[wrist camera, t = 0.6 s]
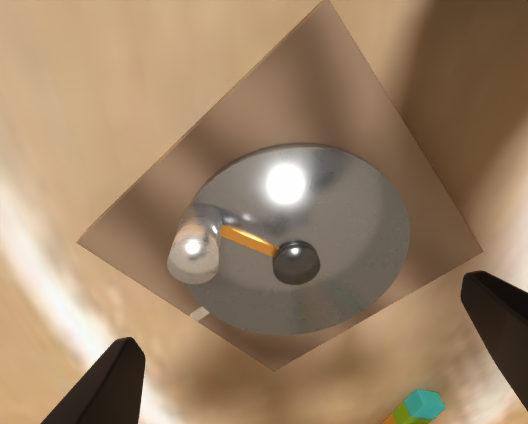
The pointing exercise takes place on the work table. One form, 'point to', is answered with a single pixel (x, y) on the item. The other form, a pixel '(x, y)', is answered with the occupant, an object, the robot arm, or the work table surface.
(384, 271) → the capstan dial
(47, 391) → the work table surface
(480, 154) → the work table surface
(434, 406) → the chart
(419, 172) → the base plate
